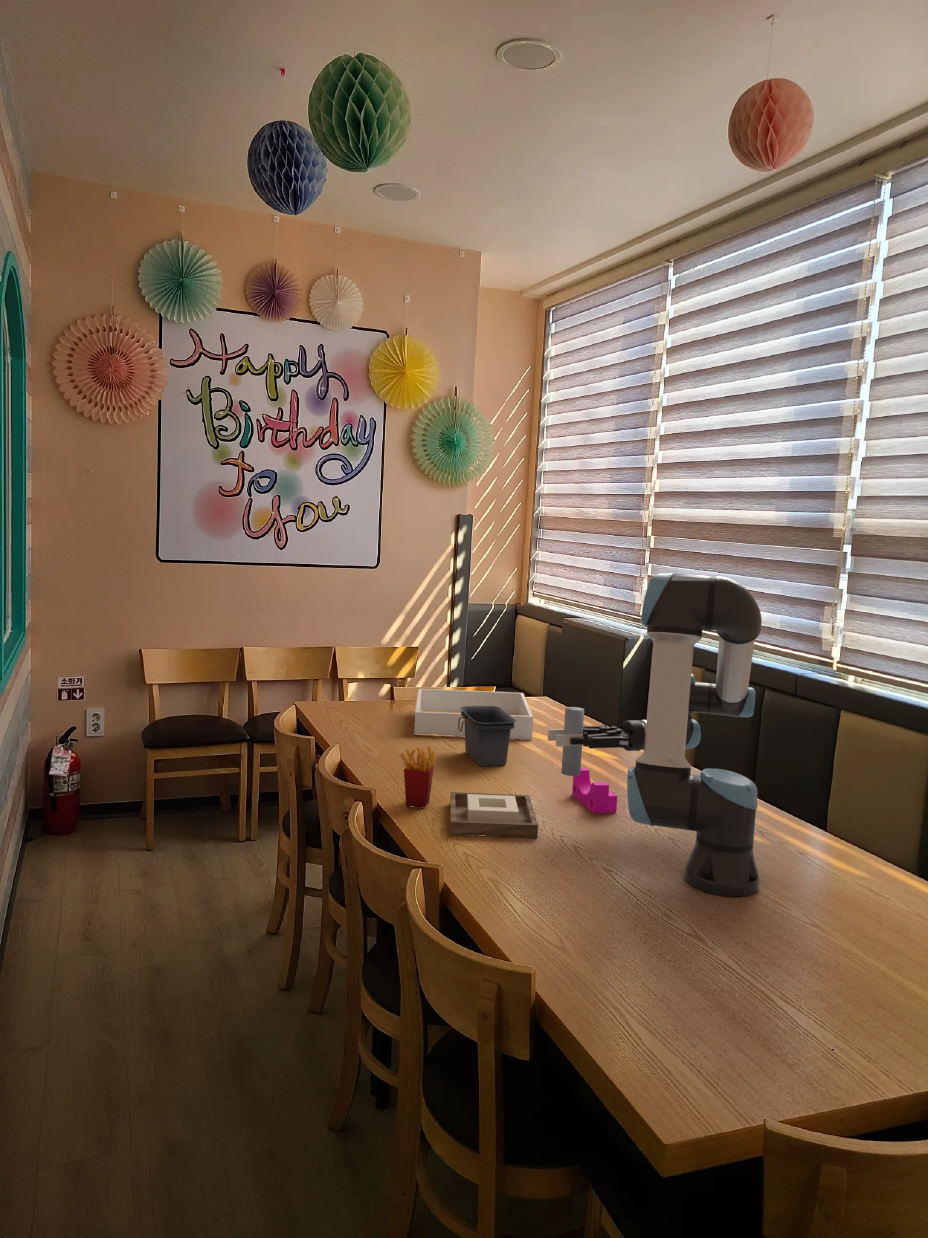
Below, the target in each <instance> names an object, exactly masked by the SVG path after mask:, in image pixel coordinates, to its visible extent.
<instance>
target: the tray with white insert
mask: <svg viewBox="0 0 928 1238" xmlns="http://www.w3.org/2000/svg"><path fill="white" fill-rule="evenodd" d="M467 794H475V795H502V796H515V799H516V803H517V807H518V811H519V816H518V823H511V822H484V821H468V820H467ZM449 795H450V796H449V820H450V821H449V830H450V833H449V835H450V836H458V835H475V836H474V837H478V836H477V835H485V836H500V837H499V838H512V837H515V838H516V839H517V838H519V839H538V832H539V823H538V820H537V817H536V812H535V810H534V806H533V803H532V801H531V796H530V795H529V794H513V793H512V794H510V793H508V794H507V793H506V794H505V793H484V792H483V793H481V792H459V791H458V792H457V791H456V792H455V791H454V792H453V791H450V794H449ZM485 836H484V837H485ZM515 838H514V839H515Z"/></svg>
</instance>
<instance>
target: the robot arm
mask: <svg viewBox="0 0 928 1238" xmlns="http://www.w3.org/2000/svg"><path fill="white" fill-rule="evenodd" d="M644 595H645V596H644V599H643V604H642V609H641V617H640V624H641V625H642V626H644V627H647V628H646V635H647V636H648V637H649V638H650V640H651V641H652V644H653V645H652V654H651V665H650V677H649V689H648V700H647V709H646V710H647V711H646V719H641V720H639V719H638V720H635V719H633V720H624V721H623V722H622V723H621V726H620V727H619V728H618V727H617V726H612V725H611V726H608V724H607V725H606V724H599V725H583V735H582V734H564V728H553V729H550V728H548V729H547V741H548V742H551V741H553V742H555V746H556V747H563V746H582V747H588V749H609V748H611V749H613V748H614V749H615V748H622V749H624V750H625V751H626V752H635V751H636V752H637V751H643V753H642V754H641V755H640V756H638V757H637V758H636V759H635V766H631V767H629V768H628V769H627V780H626V781H627V783H626V784H627V785H626V786H627V788H626V789H627V790H626V791H627V804H628V805H627V806H628V813H629V816H630V817H631V820H633V821H634V823H638V824H643V825H648V826H650V827H654V826H656V827H662V828H669V829H676V830H684V831H692V832H695V833H696V835H695V844H694V845H693V847H692V850H691V853H690V854H689V857H688V859H687V861H686V863H685V867H684V880H685V881H686V882H687V883H688V884H689V885H690V886H692V887H694V888H695V889H697V890H700V891H701V892H702V891H703V892H706V893H709V894H712V895H713V894H714V895H718V896H724V897H745V896H749V895H753V894H755V893H756V892H757V891H758V890H759V884H760V874H759V871H758V866H757V863H756V859H755V855H754V854H755V853H754V842H755V827H756V815H757V814H756V813H757V809H758V808H759V804H758V787H757V786H756V784H755V782H753V781H752V780H751V779H750V778H748V777H746V776H744V775H742V774H740V773H737V772H734V771H731V770H726V769H721V768H707V767H706V768H704V769H702V770H701V772H700V773H699V775H697V774H691V770H692V765H691V764H690V762H689V761H688V760H687V759H686V755H685V754H686V750H689V749H695V748H696V747H697V746H698V745H699V744H700V742H701V738H702V731H701V726H700V724H699V722H698V721H697V720H696V719H693V713H699V714H707V715H709V714H710V715H716V716H717V715H719V716H726V717H727V716H728V717H734V718H751V717H752V716H754V713H755V712H754V711H755V703H756V690H755V688H754V687H749V685H750V676H751V671H752V670H751V669H752V661H753V654H754V647H755V640H757V639H758V637H759V635H760V634H761V631H762V624H763V623H762V621H763V620H762V614H761V609H760V607H759V605H758V603H757V601H756V600H755V598H754V596H753V595H752V594H751V592H750V591H749V589H746V588H745V587H744V586H743V585H742V583H741V584H740V583H739V582H737V581H736V580H734V579H731V578H728V577H727V576H726V577H725V576H717V575H716V576H709V575H697V574H686V573H675V572H672V573H656V574H653V576H652V577H651V578H650V579H649V581H648V585H647V588H646V590H645V594H644ZM703 631H715V632H716V634H717V636H718V637H719V638H718V649H717V650H718V652H717V663H716V674H715V675H716V679H715V683H709V682H701V681H700V682H699V681H696V677H695V674H693V672H692V671H693V670H692V669H693V660H694V659H693V658H694V647H695V645H696V644H697V643H698V642H699V641H701V640H702V638H703Z"/></svg>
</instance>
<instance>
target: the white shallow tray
mask: <svg viewBox="0 0 928 1238" xmlns="http://www.w3.org/2000/svg"><path fill="white" fill-rule="evenodd" d="M415 705H416V706H415V711H414V733H413V735H414V734H438V735H453V736H465V722H464V723H463V729H462V732H460V731H459V730H458V719H459V718H460V717H463V716H462V715H461V712H451V711H462V710H461V709H460V708H461V707H464V706H497V707H500V708H501V709H503V710H504V711H505V712H507V713H508V714H509V715H510V716H512V717H513V718H514V719H515V720H516V722H515V723H514V725H515V727H514V728H513V729H511V731H510V739H509V740H514V739H519V740H520V741H521V740H522V741H533V730H534V727H533V726H534V715H533V712H532V711H531V708H530V706H529V703H528V701H527V699H526V697H525V694H524V692H512V691H511V692H510V691H509V692H508V691H489V690H487V691H484V690H483V691H482V690H466V689H465V690H460V689H438V688H437V689H435V688H418V690H417V697H416V704H415ZM421 709H425V710H424V711H422V710H421ZM426 710H441V711H426ZM463 721H465V718H461V719H460V723H459V728H460V730H461V725H462V722H463ZM519 740H518V741H519Z"/></svg>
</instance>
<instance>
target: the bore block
mask: <svg viewBox="0 0 928 1238" xmlns="http://www.w3.org/2000/svg"><path fill="white" fill-rule="evenodd" d="M518 816H519V811H518V807H517V803H516V799H515V796H502V795H475V794H467V820H468V821H484V822H511V823H518Z"/></svg>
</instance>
